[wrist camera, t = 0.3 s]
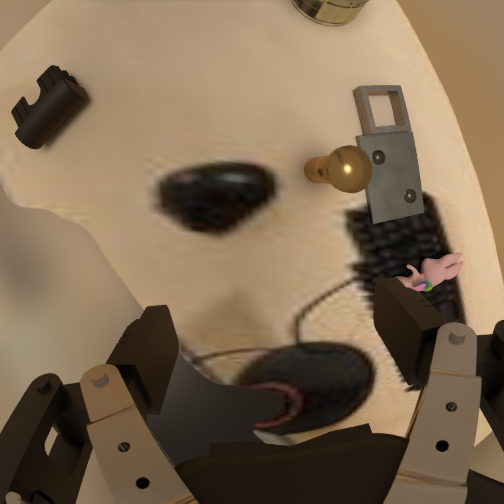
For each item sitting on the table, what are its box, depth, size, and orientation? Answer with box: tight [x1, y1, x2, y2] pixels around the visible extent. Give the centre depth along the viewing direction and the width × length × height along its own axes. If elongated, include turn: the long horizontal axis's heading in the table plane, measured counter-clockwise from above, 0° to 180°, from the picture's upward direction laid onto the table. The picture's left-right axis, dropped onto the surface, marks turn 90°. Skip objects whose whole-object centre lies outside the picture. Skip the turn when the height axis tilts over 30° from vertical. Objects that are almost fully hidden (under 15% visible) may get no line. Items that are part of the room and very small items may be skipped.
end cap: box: [11, 65, 87, 149], centre depth 29 cm, size 10×7×7 cm
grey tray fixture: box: [353, 85, 424, 224], centre depth 35 cm, size 19×9×2 cm, turn 12°
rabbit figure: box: [396, 253, 463, 292], centre depth 38 cm, size 6×6×15 cm
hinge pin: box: [305, 145, 373, 193], centre depth 31 cm, size 4×4×12 cm
